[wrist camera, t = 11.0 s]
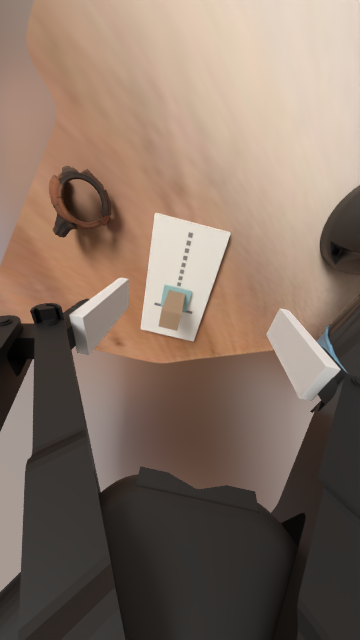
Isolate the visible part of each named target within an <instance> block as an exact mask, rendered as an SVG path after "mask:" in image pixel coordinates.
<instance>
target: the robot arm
mask: <svg viewBox="0 0 360 640" xmlns="http://www.w3.org/2000/svg"><path fill="white" fill-rule="evenodd" d="M320 247H321V253H322V256H323V258H324V260H325V261H326V263H327V264H328V265H330V266H331V267H332V268H334V269H337V270H339V271H342V272H344V273H348V274H355V275H360V186H358V187H357V188H355V189H354V190H353V191H351V192H350V193H349V194H348V195H347V196H346V197H345V198H344V199H343V200H342V201H341V202H340V203H339V204H338V205H337V206H336V208H335V209H334V210H333V212H332V213H331V215H330V216H329V218H328V220H327V222H326V224H325V226H324V229H323V232H322V236H321V243H320ZM128 307H129V279H126V278H118V279H117V280H116V281H114V282H113V283H112V284H110V285H109V286H108V287H106V288H105V289H104V290H102V291H101V292H99V293H98V294H97V295H95V296H94V297H93V298H91V299H85V300H82V301H79V302H78V303H77V304H75V305H74V306H72V307H71V308H69V309H68V310H66V311H65V312H64V313H62V308H61V306H60V305H58V304H54V303H45V304H40V305H37V306H35V307H33V308H32V309H31V310H30V312H31V315H32V318H33V320H34V323H35V324H22V323H21V321H20V318H19V317H17V316H11V315H8V316H0V431H1V429H2V426H3V424H4V422H5V420H6V417H7V415H8V413H9V411H10V409H11V406H12V404H13V402H14V400H15V397H16V395H17V393H18V391H19V388H20V386H21V384H22V382H23V379H24V377H25V375H26V373H27V370H28V368H29V366H30V364H31V361H32V359H34V401H33V403H34V404H33V451H32V456H31V457H30V458H29V459H28V461H27V464H26V471H25V490H24V515H23V538H22V560H21V561H22V562H21V572H20V573H19V574H18V575H17V576H16V577H15V578H14V579H13V580H12V581H11V582H10V583H9V584H8V585H7V586H6V587H5V588H4V589H3V590H2V591H1V592H0V640H360V295H359V296H358V297H357V298H356V299H355V300H354V301H353V302H352V303H351V304H350V305H349V306H348V307H347V308H346V309H345V310H344V311H343V313H342V314H341V315H340V316H339V317H338V318H337V319H336V320H335V321H334V322H333V323H332V324H329V325H328V326H327V327H326V328H325V332H324V333H323V334H322V335H321V336H320V337H319V338H318V340H317V341H315V340H314V338H313V337H312V336H311V335H310V334H309V333H308V332H307V330H306V329H305V328H304V327H303V326H302V325H301V324H300V322H299V321H298V320H297V319H296V318H295V317H294V316H293V314H292V313H291V312H290V311H289V310H285V309H279V311H278V313H277V315H276V317H275V319H274V321H273V323H272V324H271V326H270V328H269V330H268V332H267V334H266V335H267V337H268V339H269V341H270V343H271V345H272V346H273V348H274V350H275V352H276V354H277V356H278V358H279V360H280V362H281V364H282V366H283V368H284V370H285V372H286V374H287V376H288V378H289V380H290V381H291V383H292V385H293V387H294V389H295V391H296V393H297V395H298V397H299V398H300V399H305V400H310V401H312V400H313V399H314V398H315V397H316V396H317V395H319V397H320V399H321V401H320V402H319V403H318V404H317V405H316V406H315V407H314V409H312V410H311V412H312V413H313V412H314V411H315V412H314V415H313V417H312V419H311V422H310V424H309V427H308V429H307V432H306V435H305V437H304V439H303V442H302V444H301V447H300V449H299V452H298V455H297V457H296V460H295V462H294V465H293V467H292V470H291V472H290V475H289V477H288V480H287V482H286V485H285V487H284V490H283V492H282V495H281V497H280V500H279V502H278V504H277V506H276V507H275V509H274V510H273V511H272V512H271V513H270V512H269V511H268V510H267V509H266V508H264V507H263V506H262V505H260V504H259V503H257V500H256V494H255V492H254V491H250V490H245V489H240V488H236V487H231V486H227V485H226V486H220V487H212V488H207V489H195V488H193V487H192V486H190V485H188V484H187V483H185V482H183V481H181V480H180V479H178V478H176V477H174V476H173V475H171V474H170V473H167V472H163V471H158V470H154V469H149V468H145V467H140V471H139V474H138V475H132V476H128V477H125V478H123V479H120V480H118V481H116V482H115V483H113V484H112V485H110V486H109V487H107V488H106V489H105V490H103V491H102V492H100V487H99V482H98V478H97V473H96V468H95V464H94V459H93V454H92V449H91V444H90V439H89V434H88V429H87V425H86V420H85V416H84V410H83V405H82V401H81V395H80V390H79V385H78V380H77V376H76V371H75V366H74V361H73V356H72V351H71V350H72V348H74V347H75V346H76V350H77V353H82V354H86V355H89V354H90V353H91V352H92V351H93V350H94V348H95V347H96V346H97V345H98V344H99V342H100V341H101V340H102V339H103V337H104V336H105V335H106V334H107V333H108V331H109V330H110V329H111V328H112V327H113V325H114V324H115V323H116V322H117V321H118V319H119V318H120V317H121V316H122V314H123V313H124V312H125V311H126V310H127V308H128Z"/></svg>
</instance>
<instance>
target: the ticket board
mask: <svg viewBox="0 0 360 640" xmlns="http://www.w3.org/2000/svg"><path fill="white" fill-rule="evenodd" d="M230 234H231V233H230V232H227V231H224V230H220V229H216V228H212V227H208V226H205V225H201V224H197V223H193V222H189V221H186V220H182V219H178V218H174V217H170V216H167V215H163V214H159V213H155V218H154V226H153V234H152V242H151V250H150V258H149V266H148V274H147V282H146V290H145V298H144V306H143V314H142V322H141V329H143V330H147V331H151V332H155V333H159V334H164V335H168V336H172V337H176V338H180V339H185V340H189V341H193V342H194V339H195V336H196V333H197V330H198V327H199V324H200V321H201V318H202V316H203V313H204V310H205V307H206V304H207V301H208V298H209V295H210V292H211V289H212V286H213V283H214V281H215V278H216V275H217V272H218V269H219V266H220V263H221V260H222V257H223V254H224V251H225V249H226V246H227V243H228V240H229V237H230ZM164 285H169V286H173V287H177V288H181V289H185V290H189V291H192V293H191V296H190V300H189V304H188V307H187V311H186V312H184V311H182V314H181V318H180V322H179V326H178V330H177V331H176V330H171V329H167V328H163V327H159V320H160V315H161V310H162V307H163V306H160V305H161V300H162V294H163V289H164Z"/></svg>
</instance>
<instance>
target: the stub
mask: <svg viewBox="0 0 360 640" xmlns="http://www.w3.org/2000/svg"><path fill="white" fill-rule="evenodd" d="M191 293H192V291H189V290H185V289H181V288H177V287H173V286H169V285H164V289H163V294H162V300H161V305H160V306H163V307H162V310H161V315H160V320H159V327H163V328H167V329H171V330H176V331H177V330H178V326H179V322H180V318H181V314H182V311H184V312H186V311H187V307H188V304H189V300H190V296H191Z"/></svg>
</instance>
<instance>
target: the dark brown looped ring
mask: <svg viewBox="0 0 360 640" xmlns="http://www.w3.org/2000/svg"><path fill="white" fill-rule="evenodd" d="M62 170H63V171H62V173H60V174H59V175H58V176H57V177H56V175H54V176H52V178H51V180H50V184H49V193H50V198H51V202H52V204H53V207H54V208H55V210H56V212H57V218H56V222H55V226H54V228H53V231H54V233H55V234H56V235H58V236H59V237H66V235H67V234H68V233H69V232H70V230H72V229H77V227H80V228H96V227H99V226H101V225H102V224H103V225H104V226H105V225H106V224H107V222H108V221H109V219H110V215H111V205H110V200H109V197H108V194H107V192H106V190H104V188H103V185H102V184H101V183H100V182H99V181H98V180H97V179H96V178H95V177H94V176H93V174H92V173H91V172H90V171H89V170H88V169H86V170H85V171H83V172H82V173H79V172H78V171H77V170H76V169H75V168H71V167H69V166H65V167H63V168H62ZM73 179H82V180H85V181H87V182H88V183H90V184H91V185H92V186H93V187H94V188H95V189H96V190H97V192H98V193H99V195H100V198H101V201H102V212H101V218H100V219H99V220H95V221H92V222H83V221H80V220H78V219H76V218H75V217H73V216H72V215H71V214H70V213H69V210H68V209H67V207H66V206H65V204H64V201H63V189H64V186H65V184H66V183H67V182H68V181H70V180H73Z"/></svg>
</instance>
